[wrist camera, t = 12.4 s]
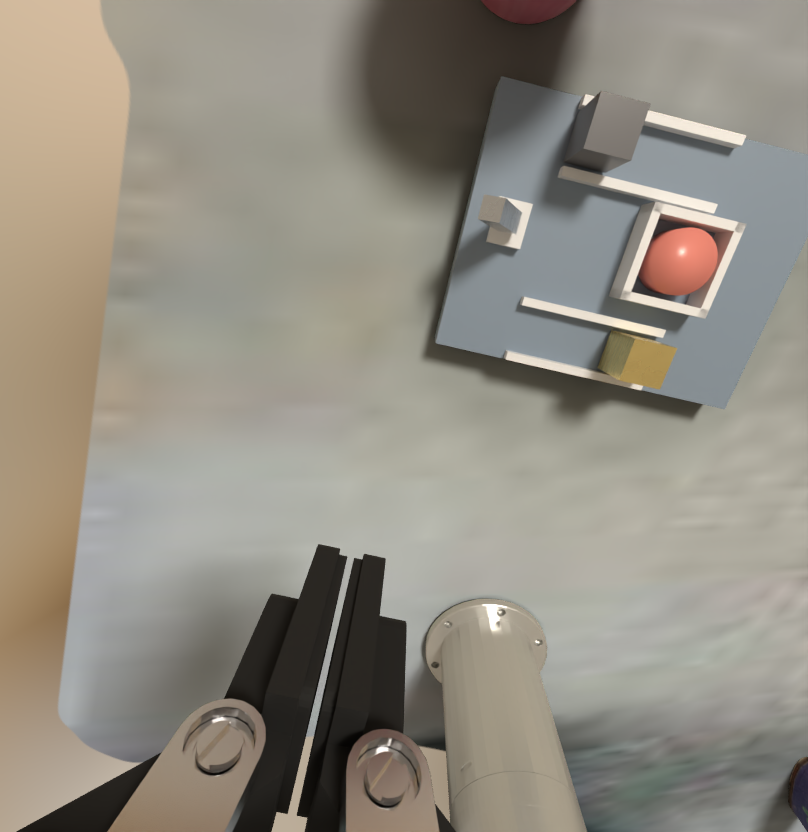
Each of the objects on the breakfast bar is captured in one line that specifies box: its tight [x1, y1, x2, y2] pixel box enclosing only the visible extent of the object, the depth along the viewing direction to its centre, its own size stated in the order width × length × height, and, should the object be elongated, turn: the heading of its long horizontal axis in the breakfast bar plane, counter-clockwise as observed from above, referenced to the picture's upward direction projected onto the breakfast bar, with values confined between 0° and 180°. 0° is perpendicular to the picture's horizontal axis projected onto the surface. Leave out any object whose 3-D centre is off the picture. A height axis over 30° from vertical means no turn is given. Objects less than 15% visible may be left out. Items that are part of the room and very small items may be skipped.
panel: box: [435, 76, 808, 409], centre depth 33 cm, size 18×24×4 cm
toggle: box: [478, 194, 522, 234], centre depth 29 cm, size 1×1×5 cm
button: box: [638, 227, 718, 296], centre depth 32 cm, size 4×4×2 cm
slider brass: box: [598, 330, 677, 390], centre depth 33 cm, size 3×3×4 cm
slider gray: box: [563, 91, 650, 173], centre depth 29 cm, size 3×3×4 cm
